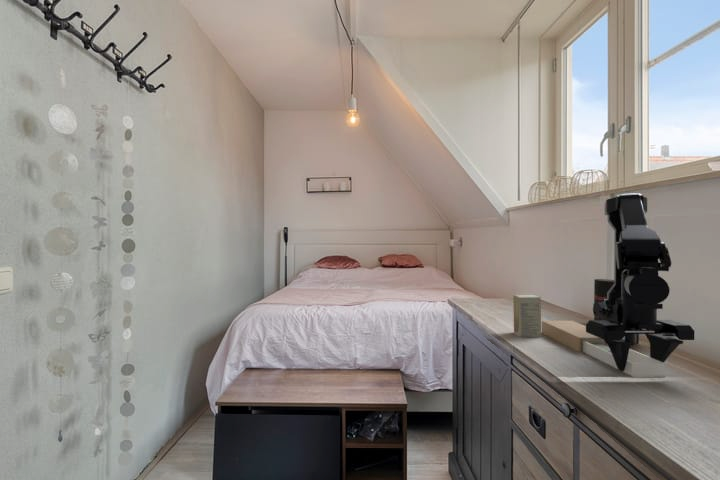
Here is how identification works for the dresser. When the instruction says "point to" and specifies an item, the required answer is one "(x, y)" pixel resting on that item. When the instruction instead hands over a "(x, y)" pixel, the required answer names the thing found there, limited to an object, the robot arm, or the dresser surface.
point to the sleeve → (567, 333)
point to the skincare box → (527, 315)
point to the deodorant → (601, 291)
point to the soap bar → (603, 347)
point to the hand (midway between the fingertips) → (637, 370)
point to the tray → (635, 364)
